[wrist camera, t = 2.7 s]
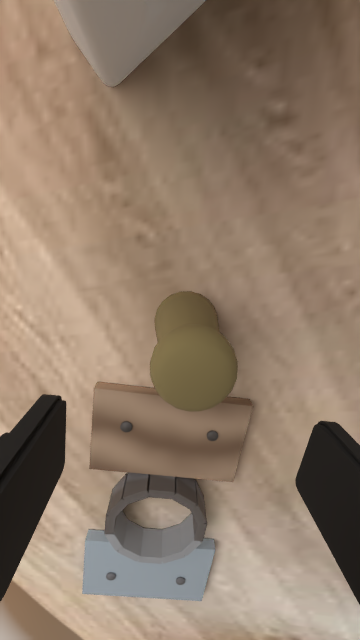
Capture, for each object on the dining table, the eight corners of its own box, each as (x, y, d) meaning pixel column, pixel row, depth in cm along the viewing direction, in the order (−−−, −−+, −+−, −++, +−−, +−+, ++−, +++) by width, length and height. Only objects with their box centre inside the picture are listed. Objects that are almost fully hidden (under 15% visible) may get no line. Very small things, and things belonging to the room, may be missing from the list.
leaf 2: (90, 503, 30) (81, 530, 27) (220, 514, 31) (224, 541, 28) (85, 582, 34) (77, 613, 31) (200, 589, 35) (203, 620, 32)
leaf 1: (97, 381, 25) (87, 399, 22) (249, 399, 26) (259, 418, 23) (90, 504, 30) (81, 532, 27) (219, 515, 31) (224, 543, 28)
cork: (199, 360, 25) (218, 443, 14) (144, 336, 24) (121, 405, 14) (228, 308, 23) (273, 357, 13) (171, 280, 23) (169, 308, 12)
